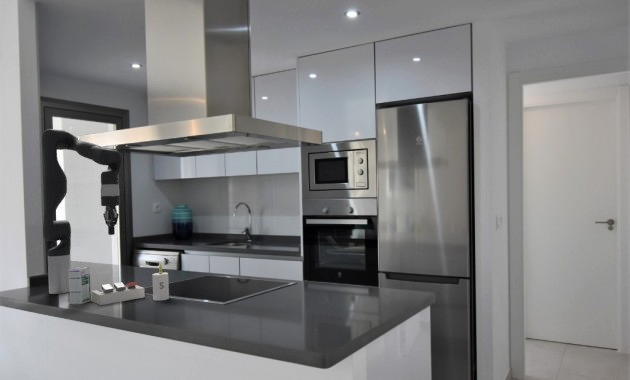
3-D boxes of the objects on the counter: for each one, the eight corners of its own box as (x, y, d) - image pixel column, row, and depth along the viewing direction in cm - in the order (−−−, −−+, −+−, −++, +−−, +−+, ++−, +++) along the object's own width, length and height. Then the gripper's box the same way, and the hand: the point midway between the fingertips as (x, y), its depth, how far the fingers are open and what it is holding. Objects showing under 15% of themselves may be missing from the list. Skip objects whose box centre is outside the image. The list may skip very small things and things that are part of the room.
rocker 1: (101, 288, 197) (101, 285, 197) (109, 287, 199) (109, 283, 199) (105, 293, 194) (105, 289, 193) (113, 291, 196) (113, 288, 195)
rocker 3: (126, 287, 204) (125, 284, 204) (133, 286, 206) (133, 283, 206) (130, 286, 200) (129, 282, 200) (137, 284, 202) (137, 281, 202)
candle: (154, 301, 194) (153, 264, 194) (152, 298, 200) (151, 262, 200) (170, 299, 197) (168, 263, 197) (167, 296, 203) (166, 261, 203)
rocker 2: (113, 286, 200) (113, 283, 200) (121, 285, 203) (121, 281, 202) (117, 290, 197) (118, 287, 197) (125, 289, 199) (125, 286, 199)
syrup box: (82, 304, 193) (80, 268, 193) (69, 304, 195) (68, 268, 195) (91, 301, 199) (90, 266, 199) (78, 301, 200) (77, 266, 200)
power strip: (91, 300, 200) (90, 289, 200) (147, 291, 216) (146, 280, 216) (100, 305, 191) (100, 293, 191) (158, 294, 207) (157, 284, 207)
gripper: (96, 195, 210) (97, 234, 210) (106, 195, 200) (107, 236, 200) (113, 195, 215) (115, 233, 214) (124, 194, 205) (125, 234, 205)
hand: (111, 234), depth 207 cm, fingers closed
